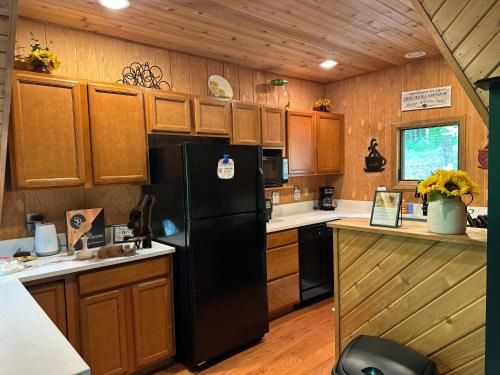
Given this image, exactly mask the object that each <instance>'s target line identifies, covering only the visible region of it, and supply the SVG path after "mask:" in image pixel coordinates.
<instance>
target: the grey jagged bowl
mask: <svg viewBox="0 0 500 375" xmlns="http://www.w3.org/2000/svg"><path fill="white" fill-rule="evenodd" d="M133 243H134V242H133ZM136 253H137V247H136V245H135V243H134V244H133V245H132V252H130V253H123V250H121V257H124V256H135V255H136Z"/></svg>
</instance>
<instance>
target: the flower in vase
mask: <svg viewBox="0 0 500 375" xmlns="http://www.w3.org/2000/svg"><path fill="white" fill-rule="evenodd" d="M91 228H92V223H91V221H90V222H89V221H87V220H86V221H83V222H81V224H80V225H79V226H78V229H79V232H80V235H83V237H80V238H79V239H80V240H81V242H82V249H81V250H80V251H79V253H78V254H77V253H76V256H75V258H76V259H78V260H86V259H87V260H88V259H92V258H93V257H95V255H96V254H95V253H94V252H93V251H91V250H90V249H89V248H88V245H87V244H88V243H87V242H88V239H89V237H92V236H93V234H92V233H91V232H89V231H90V230H91ZM85 233H86V234H85Z"/></svg>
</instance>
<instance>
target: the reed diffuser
mask: <svg viewBox="0 0 500 375" xmlns="http://www.w3.org/2000/svg"><path fill="white" fill-rule="evenodd" d="M62 229H63V232H64V234H65V237H66V240H67V242H68V247H67V250H66V253H67V255H68V256H69V255H71V256H72V255H75V254H76V255H77V254H78V253H79V252H80V251H77V252H76V248H75V247H73V240H74V237H75V233H76V231H74V233H73V231H71V232H70V231H69V230H67V233H68V235H70V233H71V236H70V237H68V236H67V234H66V232H65V228H62ZM67 229H69V227H68V226H67ZM76 229H77V227H75V228H74V230H76ZM69 232H70V233H69ZM70 238H71V239H70ZM70 242H71V243H70Z"/></svg>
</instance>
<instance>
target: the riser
mask: <svg viewBox="0 0 500 375" xmlns="http://www.w3.org/2000/svg"><path fill="white" fill-rule="evenodd" d="M126 248H131V245H130V244H123V249H126Z"/></svg>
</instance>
